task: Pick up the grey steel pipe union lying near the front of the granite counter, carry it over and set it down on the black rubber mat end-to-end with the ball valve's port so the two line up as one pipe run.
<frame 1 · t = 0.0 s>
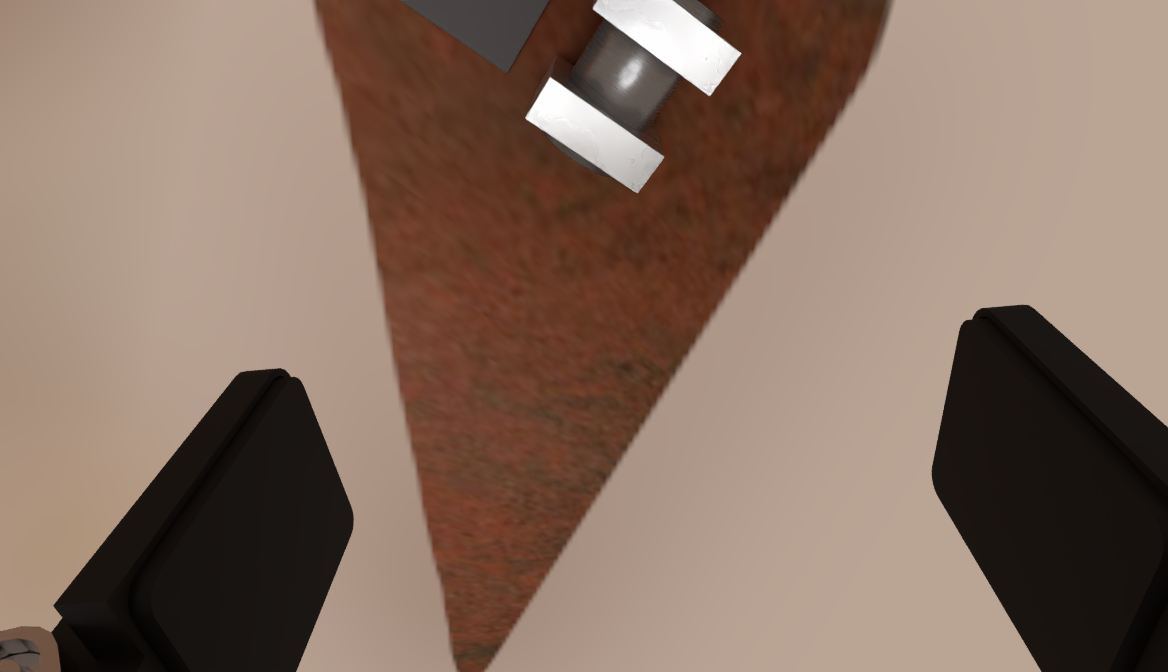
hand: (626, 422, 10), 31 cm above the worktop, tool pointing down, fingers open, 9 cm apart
pipe union: (625, 61, 37), on the worktop
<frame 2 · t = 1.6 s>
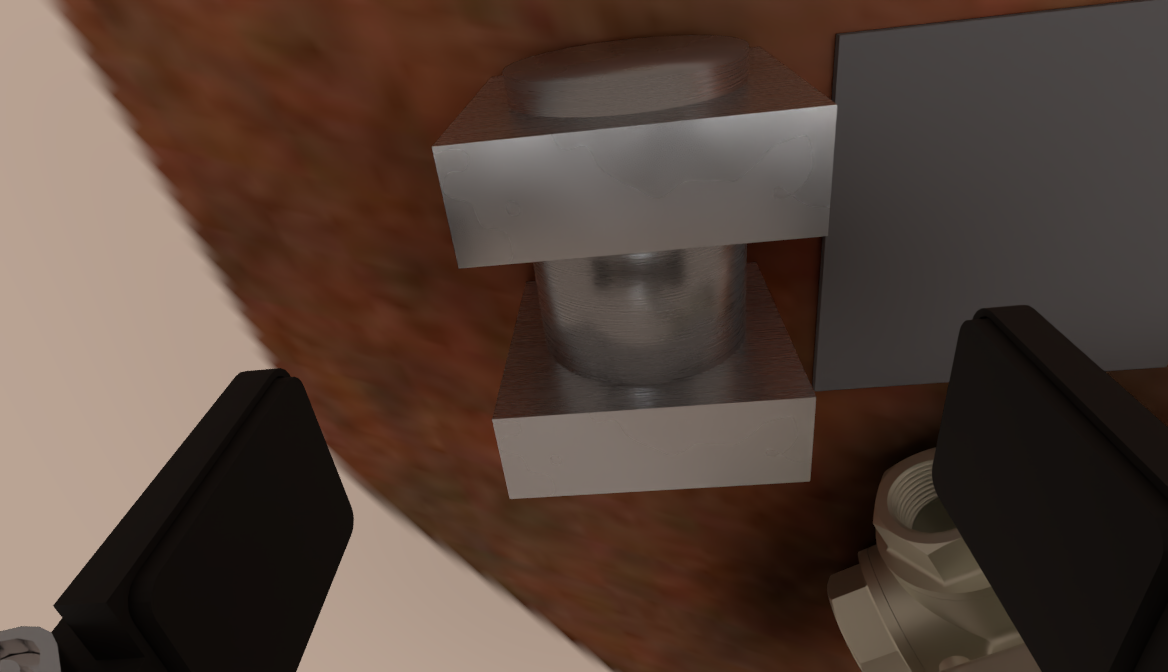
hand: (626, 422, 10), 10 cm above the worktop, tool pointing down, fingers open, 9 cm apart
pipe union: (635, 214, 19), on the worktop
ball valve: (948, 514, 24), on the worktop
joint mat: (1016, 216, 18), on the worktop
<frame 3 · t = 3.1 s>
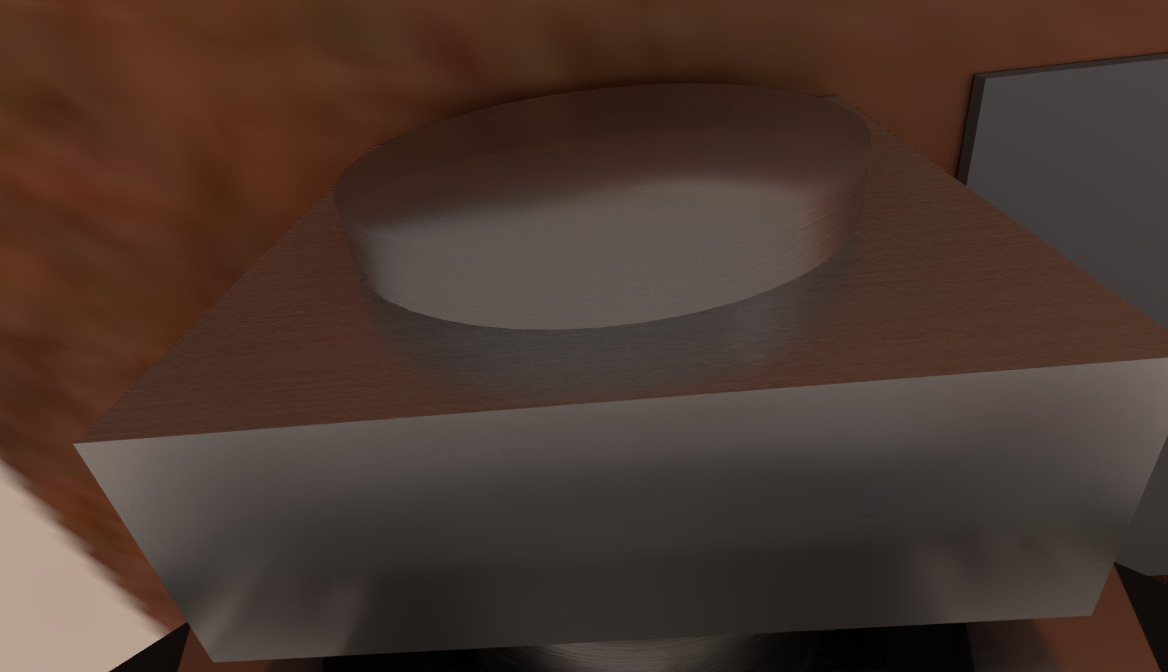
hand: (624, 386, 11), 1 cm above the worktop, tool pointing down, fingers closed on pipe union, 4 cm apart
pipe union: (623, 355, 12), on the worktop, touching gripper
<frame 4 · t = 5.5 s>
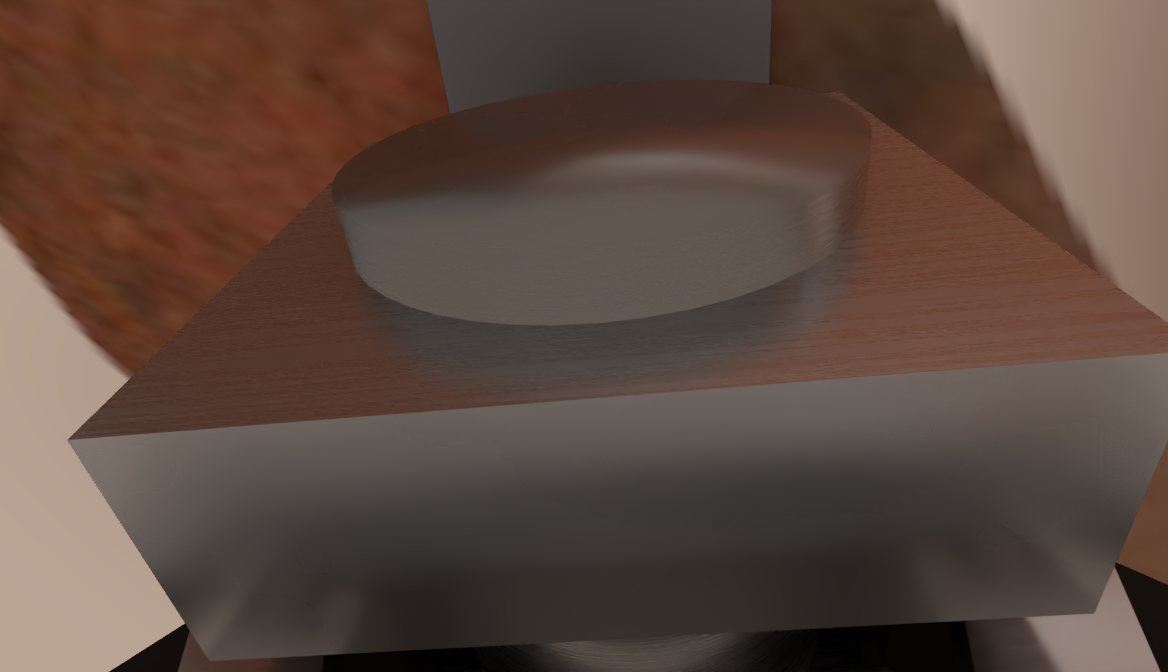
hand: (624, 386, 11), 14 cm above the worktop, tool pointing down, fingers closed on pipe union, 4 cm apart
pipe union: (622, 354, 11), point 13 cm above the worktop, touching gripper
joint mat: (610, 130, 22), on the worktop
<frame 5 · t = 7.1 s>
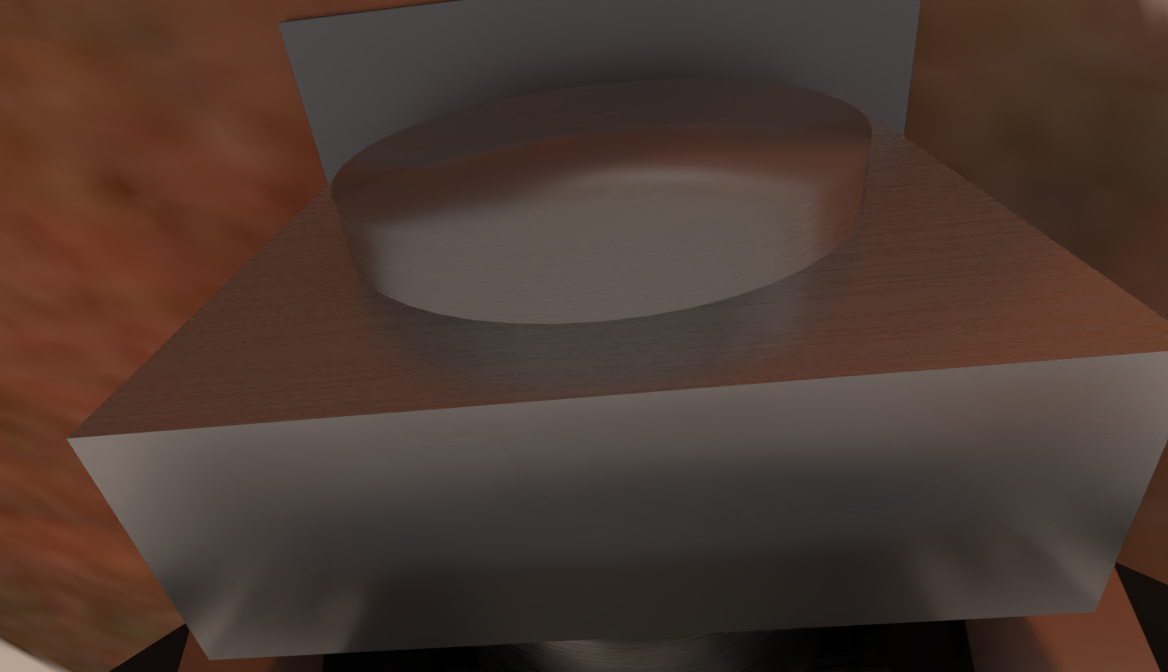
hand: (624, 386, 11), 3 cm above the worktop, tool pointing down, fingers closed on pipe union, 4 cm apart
pipe union: (622, 353, 11), point 2 cm above the worktop, touching gripper
joint mat: (618, 270, 13), on the worktop
when the fingers open (2 cm above the worktop, at t = 8.2 s): pipe union stays where it is, resting on joint mat.
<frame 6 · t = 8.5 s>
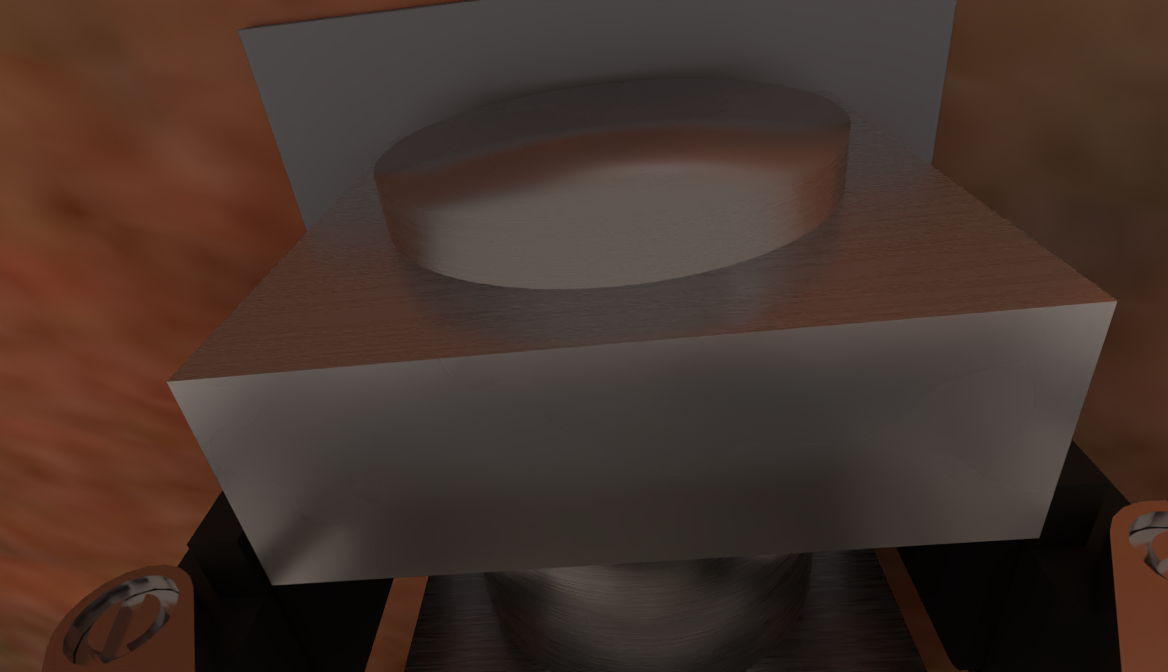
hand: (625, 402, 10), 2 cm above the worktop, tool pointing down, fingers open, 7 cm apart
pipe union: (627, 336, 12), resting on joint mat
joint mat: (618, 298, 12), on the worktop
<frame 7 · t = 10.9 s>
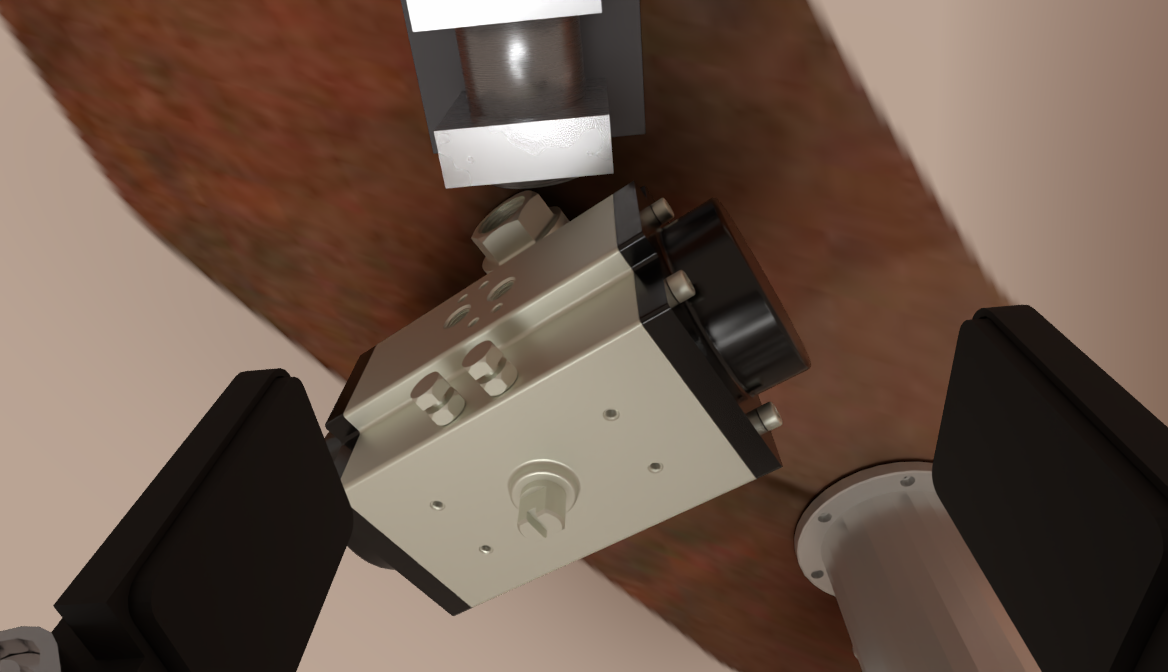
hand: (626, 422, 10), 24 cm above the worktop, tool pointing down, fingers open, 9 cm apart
pipe union: (528, 43, 30), resting on joint mat
ball valve: (554, 255, 36), on the worktop
joint mat: (524, 27, 30), on the worktop
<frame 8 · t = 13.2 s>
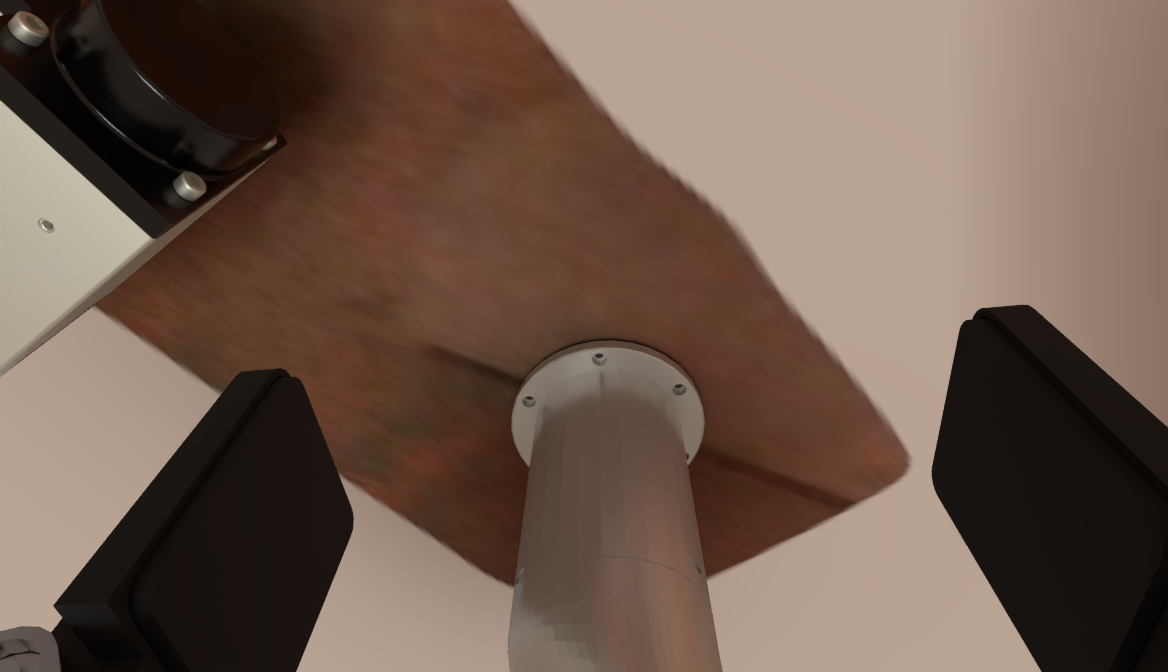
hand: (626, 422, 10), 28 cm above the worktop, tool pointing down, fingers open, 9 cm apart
ball valve: (189, 114, 36), on the worktop
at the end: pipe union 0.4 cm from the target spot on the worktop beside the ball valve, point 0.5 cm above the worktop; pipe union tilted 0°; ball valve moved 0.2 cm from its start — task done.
